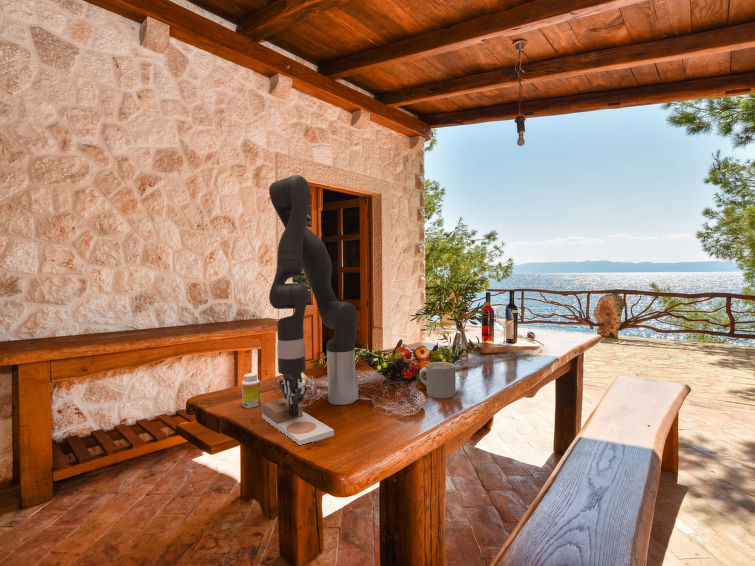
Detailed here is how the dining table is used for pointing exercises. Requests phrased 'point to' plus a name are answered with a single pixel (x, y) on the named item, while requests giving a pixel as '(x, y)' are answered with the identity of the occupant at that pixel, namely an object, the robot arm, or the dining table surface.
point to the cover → (279, 410)
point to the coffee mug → (439, 379)
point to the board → (302, 428)
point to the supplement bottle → (250, 390)
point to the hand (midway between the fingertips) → (293, 415)
